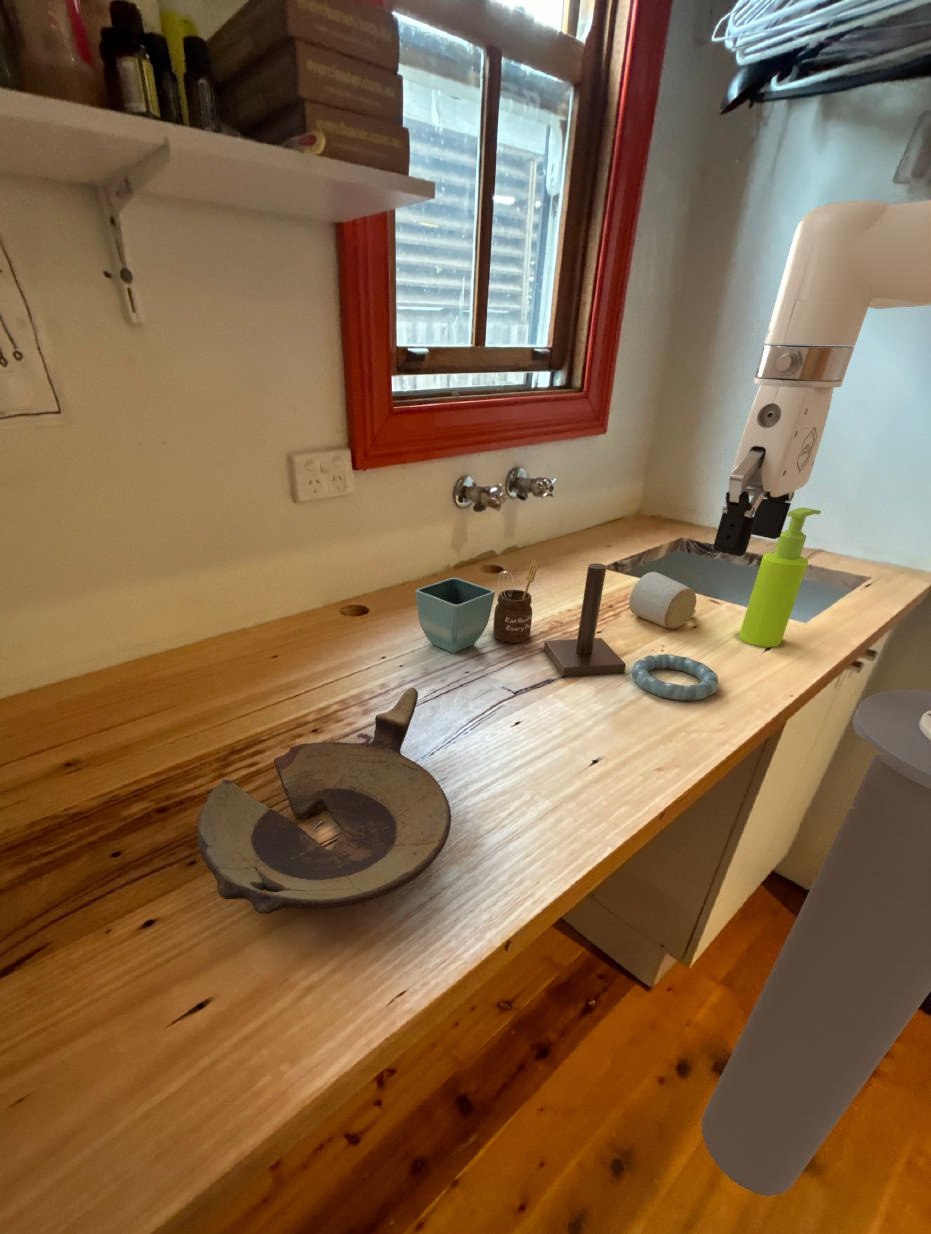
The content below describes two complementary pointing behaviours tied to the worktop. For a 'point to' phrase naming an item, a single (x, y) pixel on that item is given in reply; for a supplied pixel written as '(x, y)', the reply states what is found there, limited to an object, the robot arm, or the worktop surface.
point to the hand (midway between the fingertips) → (746, 544)
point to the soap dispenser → (777, 585)
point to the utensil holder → (514, 612)
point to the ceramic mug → (662, 600)
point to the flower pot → (454, 612)
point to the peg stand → (586, 637)
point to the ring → (674, 690)
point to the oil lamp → (358, 802)
